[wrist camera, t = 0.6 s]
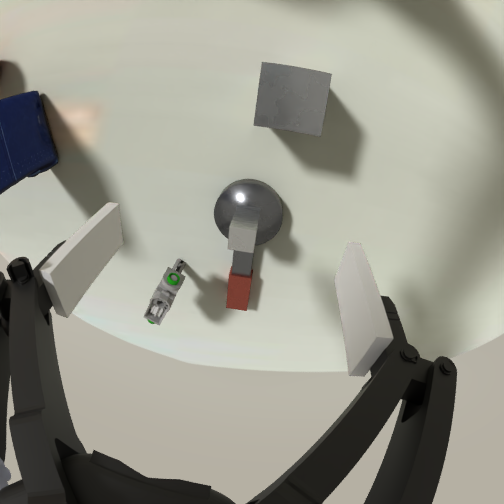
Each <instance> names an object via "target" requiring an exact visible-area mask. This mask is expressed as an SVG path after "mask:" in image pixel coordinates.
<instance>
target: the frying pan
mask: <svg viewBox="0 0 504 504" xmlns="http://www.w3.org/2000/svg"><path fill="white" fill-rule="evenodd" d="M282 215H283V209H282V203H281V200H280V198H279V196H278V194H277V193H276V192H275V190H274V189H273V188H271V187H270V186H269V185H267V184H266V183H264V182H261V181H258V180H254V179H243V180H238V181H235V182H233V183H231V184H230V185H228V186H227V187H226V188H225V189H224V190H223V191H222V193H221V195H220V196H219V198H218V200H217V202H216V205H215V209H214V218H215V222H216V225H217V227H218V229H219V230H220V231H221V233H222V234H223V235H224V236H225V237H226V238H228V249H230V250H234V253H233V263H232V266H231V270H230V274H229V282H228V293H227V305H226V308H232V309H238V310H244V311H247V306H248V299H249V293H250V286H251V280H252V273H253V270H251V267H252V260H253V254H254V247H255V245H260V244H263V243H265V242H267V241H269V240H270V239H272V238H273V237H274V236H275V235H276V234H277V232H278V231H279V229H280V227H281V224H282Z"/></svg>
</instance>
